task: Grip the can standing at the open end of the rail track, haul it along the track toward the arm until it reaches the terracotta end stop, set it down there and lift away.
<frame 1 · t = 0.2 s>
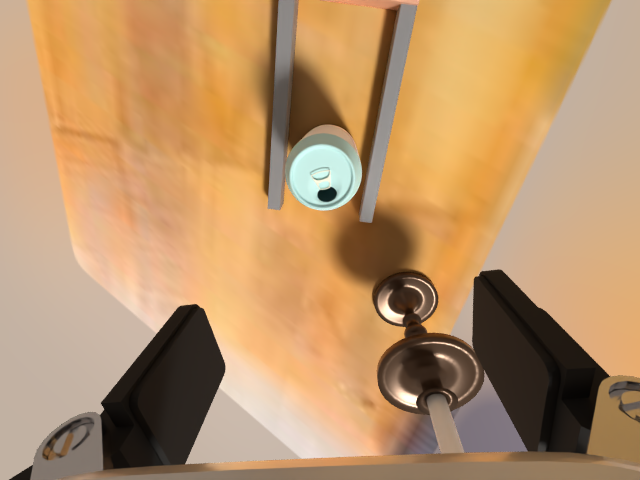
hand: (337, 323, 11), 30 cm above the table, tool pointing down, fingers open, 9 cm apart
candlestick: (404, 297, 45), on the table
can: (328, 154, 38), resting in track
track: (333, 110, 35), on the table
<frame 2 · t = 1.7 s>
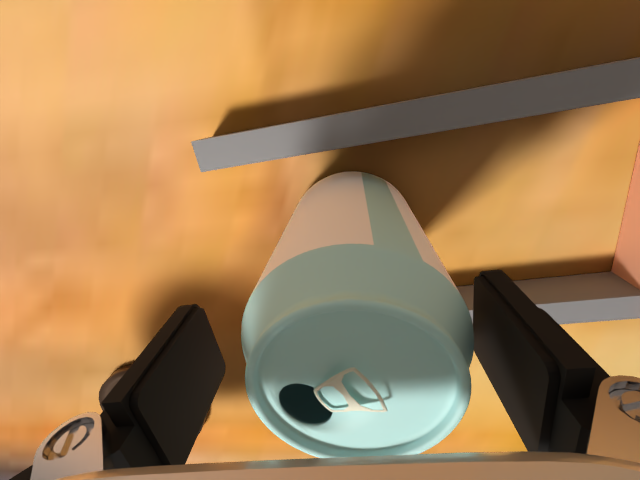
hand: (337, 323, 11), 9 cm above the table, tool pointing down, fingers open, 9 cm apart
candlestick: (158, 400, 27), on the table
can: (351, 225, 19), resting in track
track: (436, 216, 18), on the table
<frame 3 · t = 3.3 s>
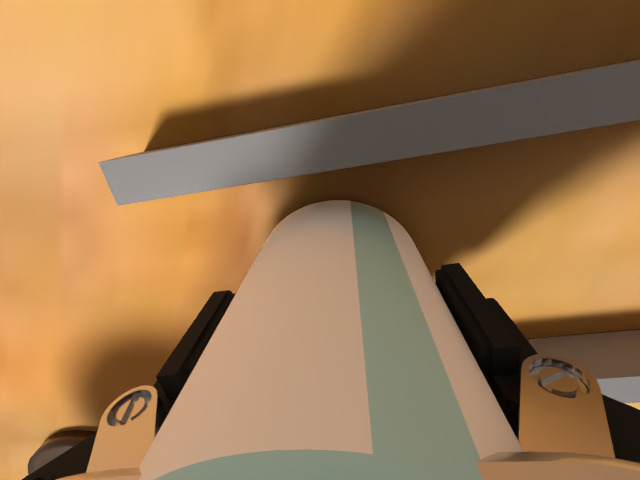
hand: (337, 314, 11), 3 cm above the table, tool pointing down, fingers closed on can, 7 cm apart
candlestick: (105, 470, 22), on the table
can: (338, 268, 14), resting in track, touching gripper
track: (452, 256, 13), on the table
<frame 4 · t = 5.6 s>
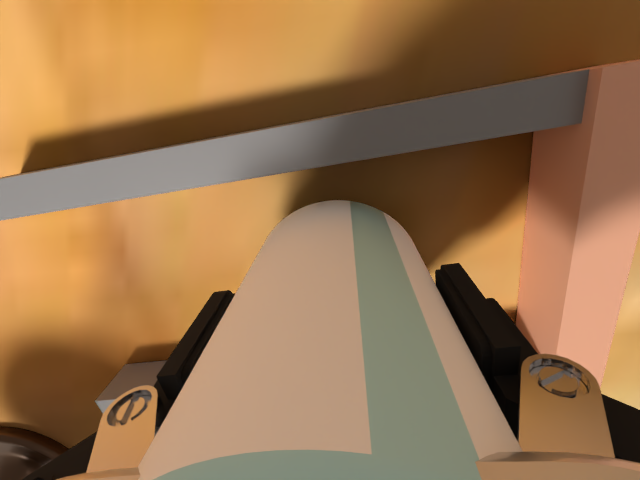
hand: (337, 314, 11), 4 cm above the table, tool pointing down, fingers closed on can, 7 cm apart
candlestick: (33, 464, 23), on the table
can: (338, 268, 14), point 1 cm above the table, touching gripper
track: (305, 265, 15), on the table
when the fingers open (4 cm above the table, at t = 8.1 s): can stays where it is, resting in track.
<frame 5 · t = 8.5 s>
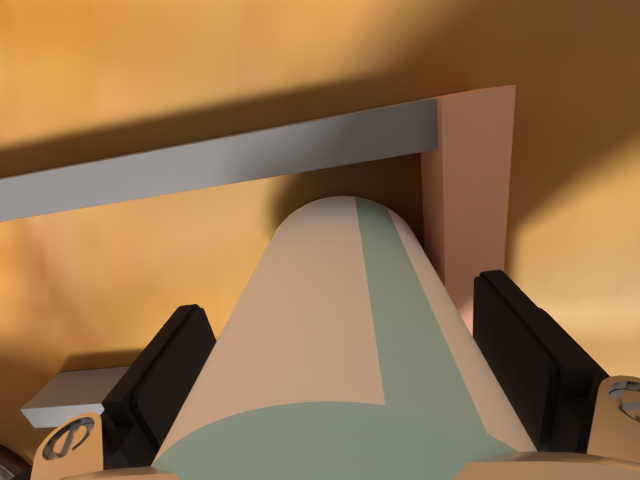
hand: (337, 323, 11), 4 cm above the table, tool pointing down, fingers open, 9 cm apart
can: (342, 262, 15), resting in track
track: (219, 279, 15), on the table
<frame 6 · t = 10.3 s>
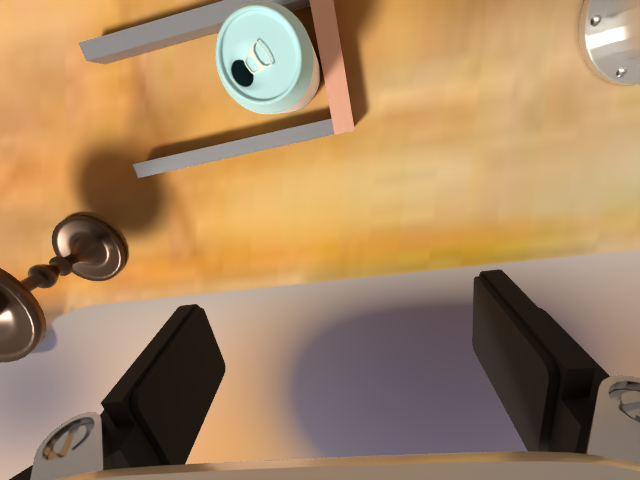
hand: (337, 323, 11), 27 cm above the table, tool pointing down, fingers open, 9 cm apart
candlestick: (93, 247, 41), on the table
can: (286, 75, 32), resting in track
track: (228, 89, 32), on the table
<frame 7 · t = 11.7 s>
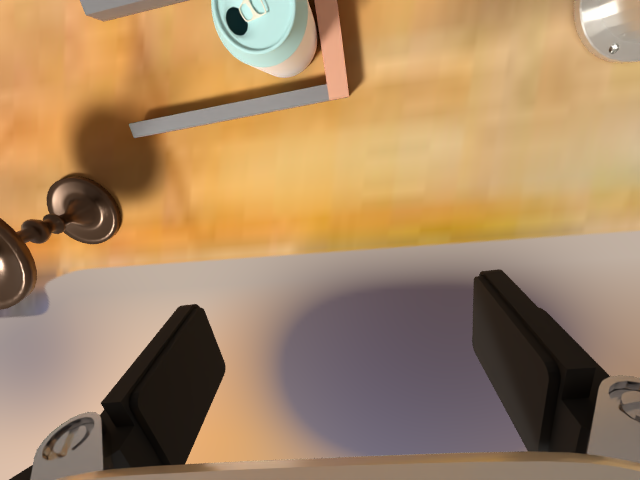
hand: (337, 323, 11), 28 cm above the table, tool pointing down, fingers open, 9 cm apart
candlestick: (88, 209, 41), on the table
can: (284, 39, 32), resting in track
track: (226, 51, 32), on the table
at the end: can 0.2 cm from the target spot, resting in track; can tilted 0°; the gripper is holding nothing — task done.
